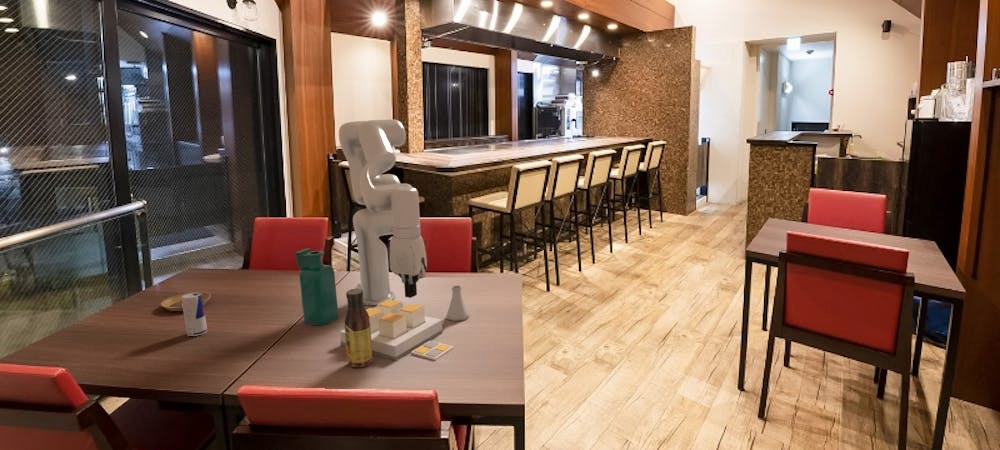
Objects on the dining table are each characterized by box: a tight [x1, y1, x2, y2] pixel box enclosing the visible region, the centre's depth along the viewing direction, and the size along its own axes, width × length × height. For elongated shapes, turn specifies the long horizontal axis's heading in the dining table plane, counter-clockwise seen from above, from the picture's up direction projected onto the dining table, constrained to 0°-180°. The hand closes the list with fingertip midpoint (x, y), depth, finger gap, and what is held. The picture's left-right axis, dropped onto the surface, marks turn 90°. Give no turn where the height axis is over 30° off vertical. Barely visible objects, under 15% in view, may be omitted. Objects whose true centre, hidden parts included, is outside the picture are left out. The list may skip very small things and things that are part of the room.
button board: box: [339, 315, 443, 361], centre depth 156 cm, size 20×20×4 cm
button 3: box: [378, 313, 407, 340], centre depth 150 cm, size 5×5×5 cm
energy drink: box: [181, 291, 208, 337], centre depth 161 cm, size 5×5×12 cm
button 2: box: [376, 299, 404, 316], centre depth 160 cm, size 5×5×5 cm
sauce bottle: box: [343, 288, 373, 368], centre depth 139 cm, size 6×6×20 cm
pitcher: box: [294, 248, 339, 326], centre depth 169 cm, size 10×8×22 cm
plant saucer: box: [160, 291, 212, 312], centre depth 186 cm, size 15×15×3 cm
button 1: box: [365, 307, 384, 334], centre depth 154 cm, size 5×5×5 cm
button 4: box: [398, 303, 426, 329], centre depth 156 cm, size 5×5×5 cm
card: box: [410, 340, 454, 361], centre depth 148 cm, size 8×8×1 cm
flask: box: [446, 284, 470, 322], centre depth 170 cm, size 7×7×10 cm
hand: (411, 296), depth 154 cm, fingers closed
